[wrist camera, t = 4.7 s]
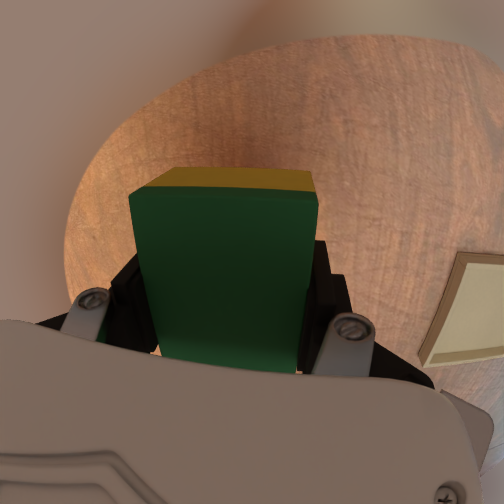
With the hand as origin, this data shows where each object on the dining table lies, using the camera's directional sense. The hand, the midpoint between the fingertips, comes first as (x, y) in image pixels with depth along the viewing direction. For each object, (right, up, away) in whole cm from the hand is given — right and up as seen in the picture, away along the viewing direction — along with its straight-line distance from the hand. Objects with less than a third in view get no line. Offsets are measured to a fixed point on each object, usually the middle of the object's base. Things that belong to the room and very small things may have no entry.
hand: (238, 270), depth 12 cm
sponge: (0, 0, 0) cm, 0 cm away
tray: (+28, -6, +13) cm, 31 cm away
